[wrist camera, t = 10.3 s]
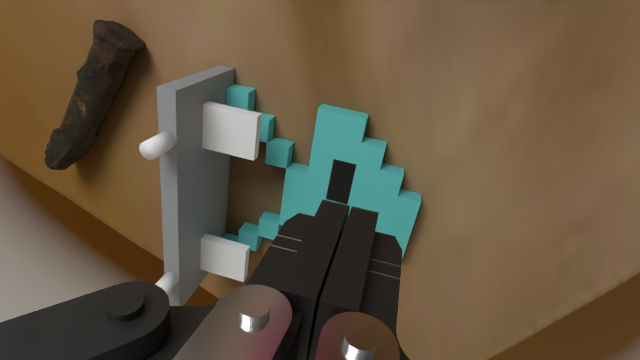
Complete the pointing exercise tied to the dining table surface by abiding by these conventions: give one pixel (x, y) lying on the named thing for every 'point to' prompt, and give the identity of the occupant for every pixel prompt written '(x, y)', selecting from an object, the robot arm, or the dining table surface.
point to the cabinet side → (199, 178)
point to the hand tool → (93, 92)
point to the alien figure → (330, 173)
